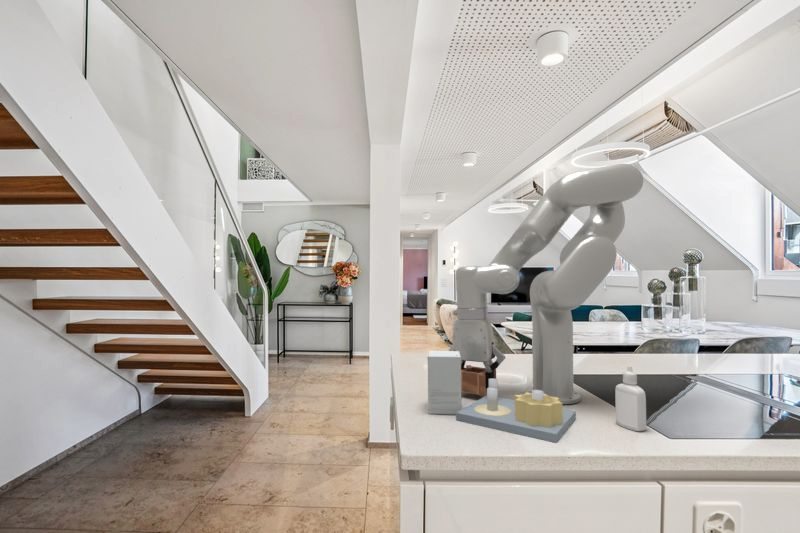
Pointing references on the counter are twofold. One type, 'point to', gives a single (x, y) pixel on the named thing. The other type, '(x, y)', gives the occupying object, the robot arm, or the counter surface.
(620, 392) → the eye dropper bottle
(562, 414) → the gear board
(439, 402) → the supplement box
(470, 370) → the brown open boxy piece
